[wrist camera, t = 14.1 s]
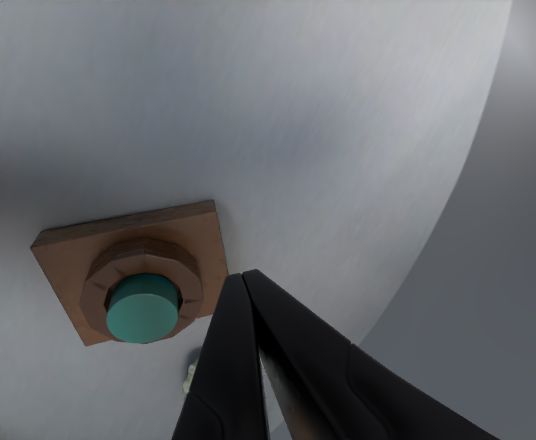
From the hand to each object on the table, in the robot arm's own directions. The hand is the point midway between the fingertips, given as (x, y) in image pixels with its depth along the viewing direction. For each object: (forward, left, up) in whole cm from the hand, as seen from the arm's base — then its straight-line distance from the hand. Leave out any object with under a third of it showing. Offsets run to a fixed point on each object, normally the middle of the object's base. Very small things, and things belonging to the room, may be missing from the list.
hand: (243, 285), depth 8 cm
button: (-5, -7, -9) cm, 12 cm away
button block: (-5, -7, -12) cm, 15 cm away
